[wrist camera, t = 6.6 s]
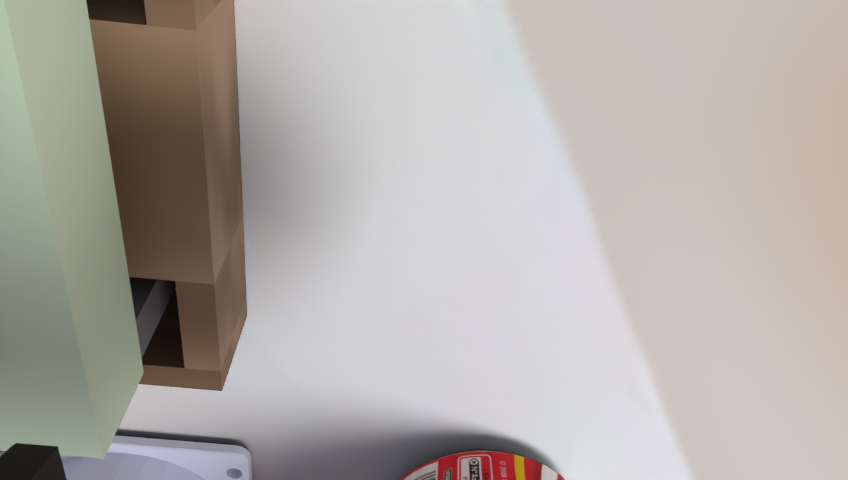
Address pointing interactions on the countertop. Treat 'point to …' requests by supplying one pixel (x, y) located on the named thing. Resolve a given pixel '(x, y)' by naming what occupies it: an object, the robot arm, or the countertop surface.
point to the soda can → (482, 468)
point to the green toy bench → (63, 243)
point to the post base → (177, 173)
